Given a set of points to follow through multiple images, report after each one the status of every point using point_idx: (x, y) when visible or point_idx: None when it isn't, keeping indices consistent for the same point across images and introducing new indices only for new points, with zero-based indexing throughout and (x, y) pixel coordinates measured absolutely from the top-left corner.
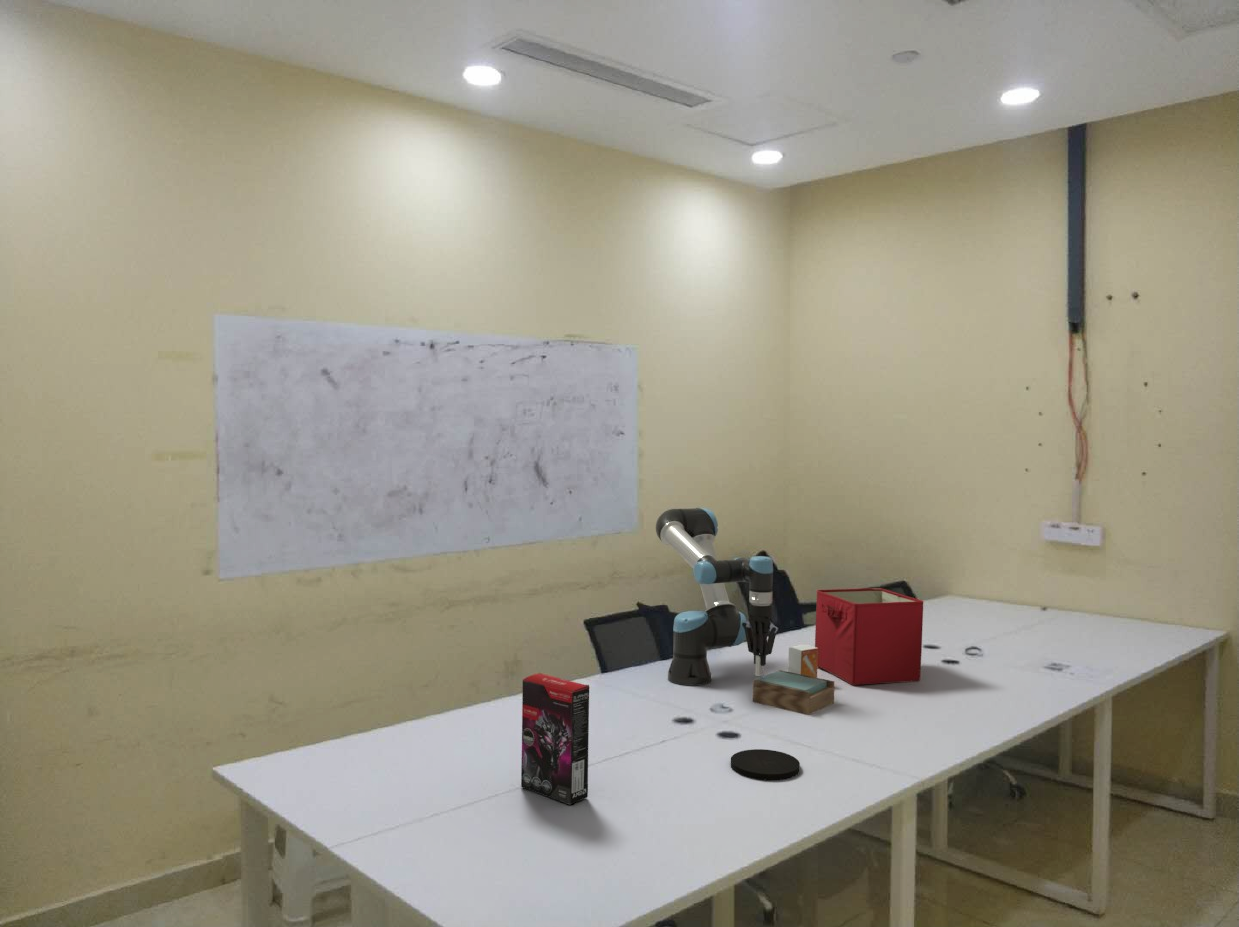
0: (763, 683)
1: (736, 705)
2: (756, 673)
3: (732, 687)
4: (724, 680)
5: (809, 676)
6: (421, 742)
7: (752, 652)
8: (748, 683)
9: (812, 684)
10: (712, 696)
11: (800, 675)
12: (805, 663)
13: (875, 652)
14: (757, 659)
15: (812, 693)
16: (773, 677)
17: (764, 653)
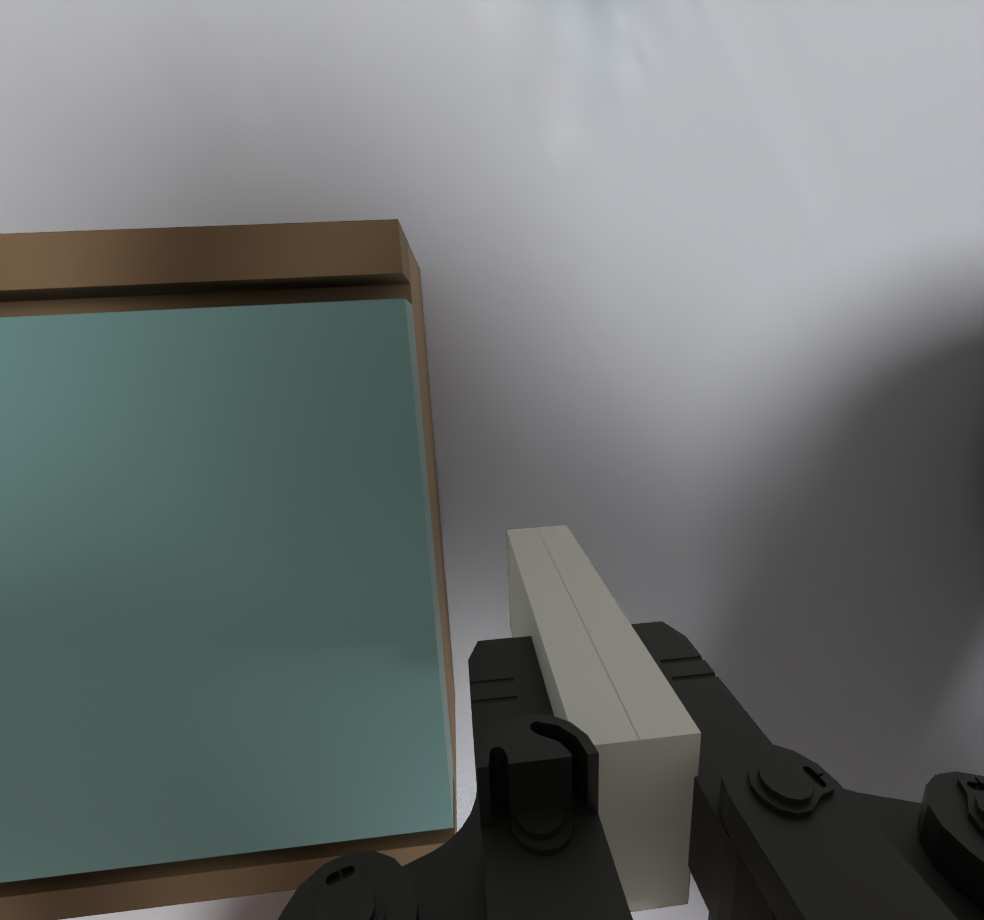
0: (205, 231)
1: (455, 29)
2: (556, 536)
3: (779, 497)
4: (914, 600)
5: (38, 911)
6: None
7: (872, 808)
8: (733, 669)
9: None
10: (790, 125)
11: (149, 875)
12: None
13: None
14: (608, 669)
15: None
16: (293, 571)
17: (456, 910)
